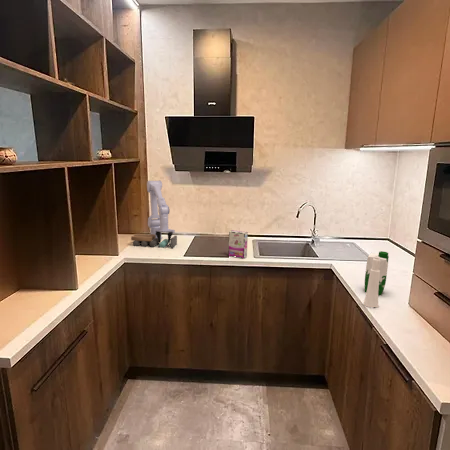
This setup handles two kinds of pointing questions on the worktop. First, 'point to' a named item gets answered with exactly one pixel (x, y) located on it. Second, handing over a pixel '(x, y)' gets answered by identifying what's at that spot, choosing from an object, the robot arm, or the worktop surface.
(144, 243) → the roller bed
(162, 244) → the roller
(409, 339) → the worktop surface
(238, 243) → the candy bar box
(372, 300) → the cosmetic bottle
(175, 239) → the bar
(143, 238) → the slab
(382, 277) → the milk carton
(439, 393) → the worktop surface
